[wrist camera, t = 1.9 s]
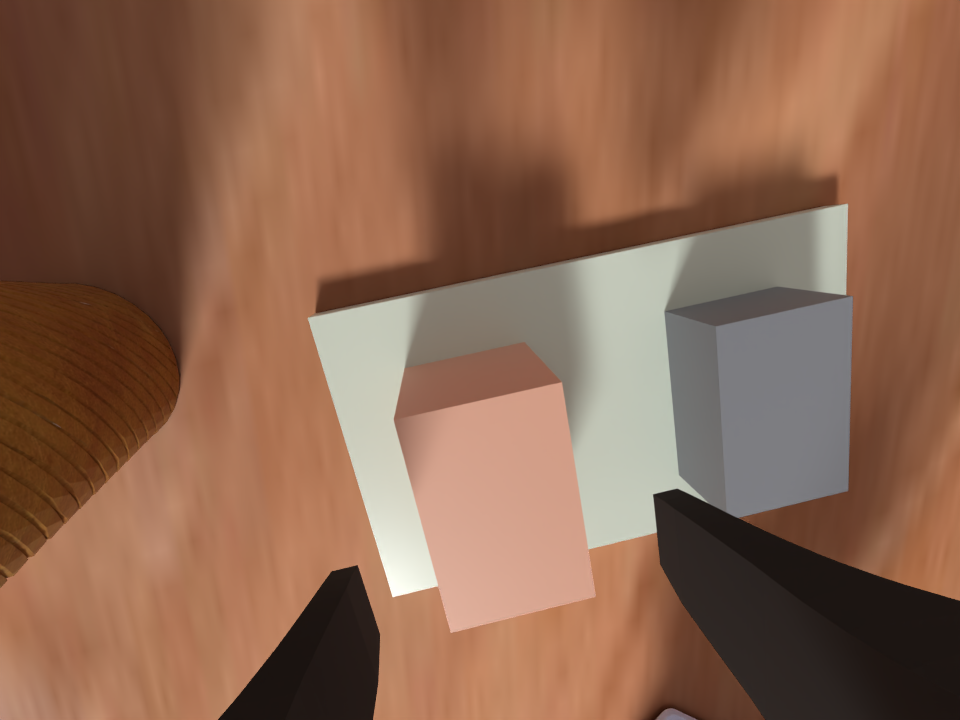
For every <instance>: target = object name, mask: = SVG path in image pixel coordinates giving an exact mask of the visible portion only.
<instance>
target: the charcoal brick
mask: <svg viewBox="0 0 960 720" xmlns="http://www.w3.org/2000/svg"><path fill="white" fill-rule="evenodd" d="M852 312H853V296H848V295H840V294H832V293H825V292H817V291H809V290H801V289H793V288H785V287H773V288H768V289H764V290H759V291H755V292H750V293H746V294H741V295H737V296H732V297H727V298H723V299H718V300H714V301H709V302H705V303H700V304H696V305H691V306H686V307H682V308H677V309H673V310H668V311H664V314H665V325H666V336H667V347H668V358H669V370H670V381H671V392H672V403H673V414H674V425H675V437H676V448H677V459H678V470H679V476H680V477H681V478H682V479H684V480H685V481H686V482H687V483H688V484H689V485H690V486H691V487H692V488H693V489H694V490H695V491H696V492H697V493H698V494H700V495H701V496H702V497H703V498H704V499H705V500H706V501H707V502H708V503H709V504H711V505H713V506H715V507H717V508H719V509H721V510H723V511H725V512H727V513H729V514H731V515H733V516H735V517H737V518H740V517H744V516H748V515H752V514H756V513H760V512H764V511H768V510H772V509H776V508H781V507H785V506H789V505H793V504H797V503H801V502H805V501H809V500H813V499H817V498H821V497H825V496H830V495H834V494H838V493H842V492H846V491H848V481H849V439H850V397H851V354H852Z"/></svg>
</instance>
